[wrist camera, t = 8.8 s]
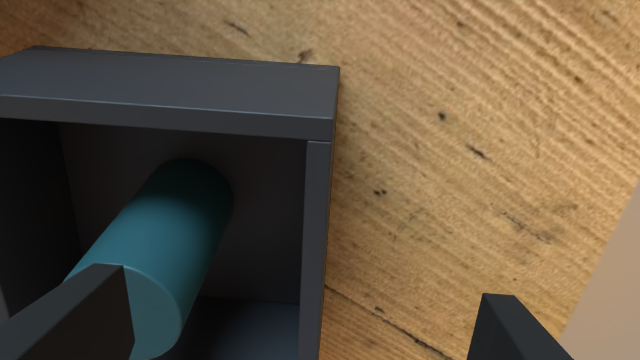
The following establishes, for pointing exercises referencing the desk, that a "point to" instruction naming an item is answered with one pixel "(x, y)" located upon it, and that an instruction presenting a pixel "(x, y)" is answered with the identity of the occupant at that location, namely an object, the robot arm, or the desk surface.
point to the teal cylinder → (165, 248)
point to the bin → (158, 148)
